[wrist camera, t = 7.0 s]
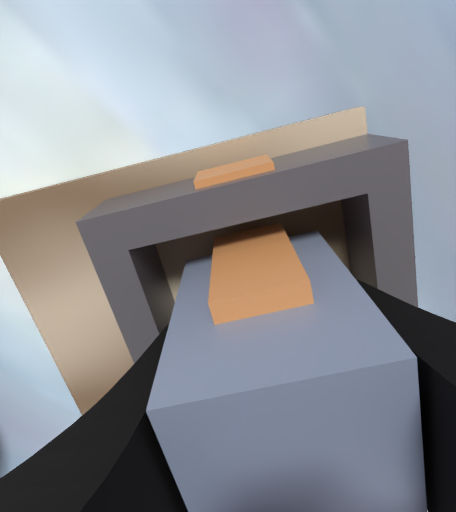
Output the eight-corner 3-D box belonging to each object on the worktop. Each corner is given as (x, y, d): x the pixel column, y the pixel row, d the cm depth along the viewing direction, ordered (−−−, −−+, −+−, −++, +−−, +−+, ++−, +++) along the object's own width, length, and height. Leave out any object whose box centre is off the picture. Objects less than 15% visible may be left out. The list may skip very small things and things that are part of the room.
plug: (335, 341, 12) (428, 536, 7) (218, 365, 12) (213, 570, 7) (314, 214, 11) (414, 327, 5) (181, 245, 11) (135, 384, 5)
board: (399, 505, 17) (405, 518, 17) (157, 545, 18) (155, 559, 18) (357, 107, 11) (364, 106, 10) (-13, 201, 12) (-25, 206, 11)
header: (390, 366, 14) (424, 419, 11) (184, 408, 14) (176, 465, 12) (366, 126, 10) (407, 130, 8) (104, 193, 11) (72, 214, 9)
